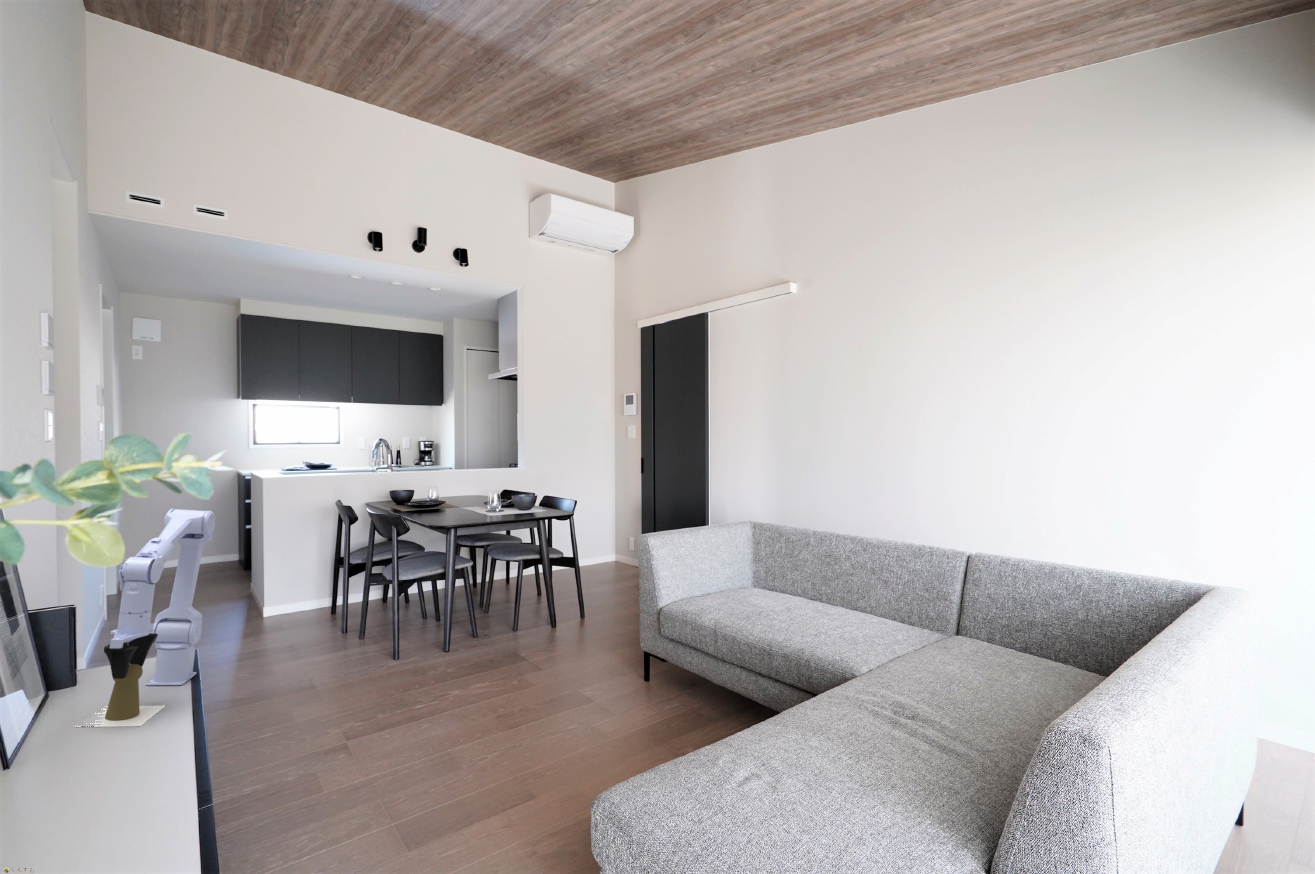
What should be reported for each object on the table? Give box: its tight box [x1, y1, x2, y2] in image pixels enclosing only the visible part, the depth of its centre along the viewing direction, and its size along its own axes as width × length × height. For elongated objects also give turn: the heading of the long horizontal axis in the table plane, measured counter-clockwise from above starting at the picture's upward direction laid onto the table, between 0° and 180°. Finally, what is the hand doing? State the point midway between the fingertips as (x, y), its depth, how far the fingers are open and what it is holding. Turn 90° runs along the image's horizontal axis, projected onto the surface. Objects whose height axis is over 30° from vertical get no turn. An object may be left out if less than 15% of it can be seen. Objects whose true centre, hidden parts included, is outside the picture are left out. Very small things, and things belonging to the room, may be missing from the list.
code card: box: [74, 705, 166, 728], centre depth 146 cm, size 12×12×1 cm
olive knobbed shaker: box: [105, 664, 144, 721], centre depth 146 cm, size 6×6×11 cm
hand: (127, 672), depth 147 cm, fingers open, 7 cm apart
